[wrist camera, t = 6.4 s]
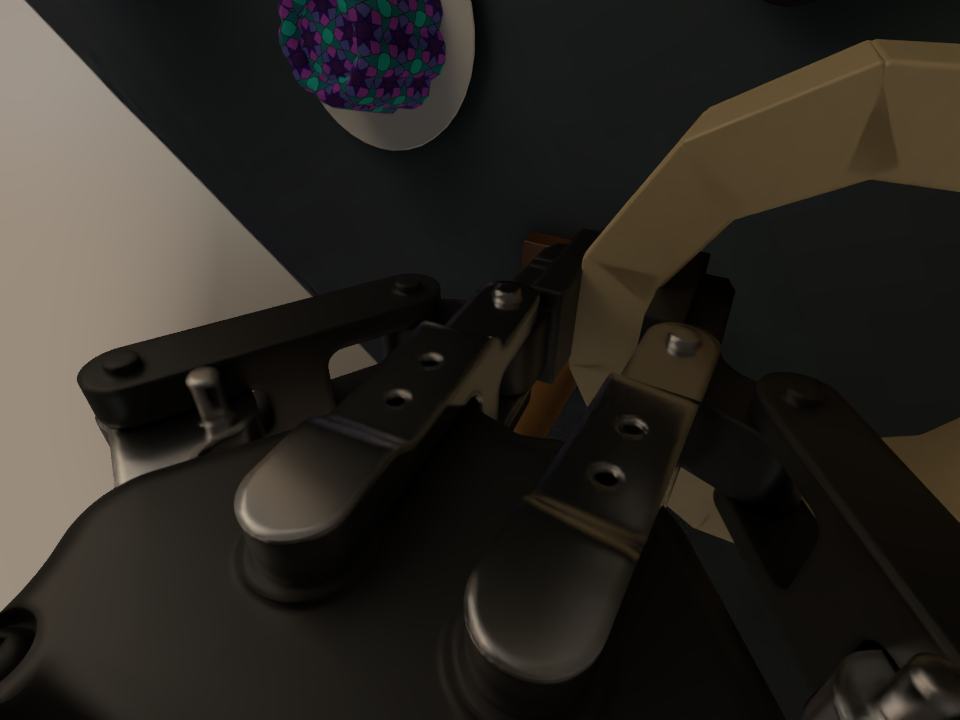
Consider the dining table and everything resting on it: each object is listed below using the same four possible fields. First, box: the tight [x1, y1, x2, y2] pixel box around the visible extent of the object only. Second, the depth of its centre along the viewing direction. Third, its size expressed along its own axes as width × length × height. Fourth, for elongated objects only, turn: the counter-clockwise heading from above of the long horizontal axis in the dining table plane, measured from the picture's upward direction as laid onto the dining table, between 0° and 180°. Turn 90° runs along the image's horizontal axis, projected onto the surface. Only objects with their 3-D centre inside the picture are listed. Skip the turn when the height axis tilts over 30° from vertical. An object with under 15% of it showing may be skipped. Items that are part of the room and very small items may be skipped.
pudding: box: [278, 0, 475, 151], centre depth 27 cm, size 12×12×5 cm
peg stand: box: [513, 232, 578, 438], centre depth 28 cm, size 9×9×12 cm
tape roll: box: [568, 39, 960, 543], centre depth 11 cm, size 10×10×3 cm
